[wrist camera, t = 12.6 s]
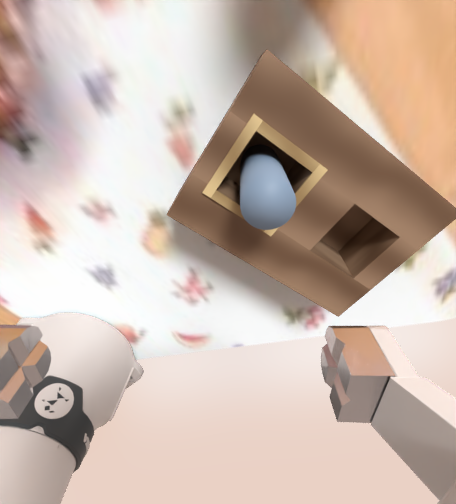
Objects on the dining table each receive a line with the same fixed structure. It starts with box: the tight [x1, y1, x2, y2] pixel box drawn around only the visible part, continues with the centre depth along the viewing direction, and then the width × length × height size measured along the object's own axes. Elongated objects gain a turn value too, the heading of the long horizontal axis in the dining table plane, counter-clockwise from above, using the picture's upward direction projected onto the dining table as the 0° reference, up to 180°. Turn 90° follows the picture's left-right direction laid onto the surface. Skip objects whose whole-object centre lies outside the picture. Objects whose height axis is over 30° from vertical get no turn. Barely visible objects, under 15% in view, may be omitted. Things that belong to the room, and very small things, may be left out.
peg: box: [240, 144, 296, 230], centre depth 23 cm, size 4×4×10 cm
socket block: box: [167, 50, 456, 317], centre depth 27 cm, size 14×20×6 cm
